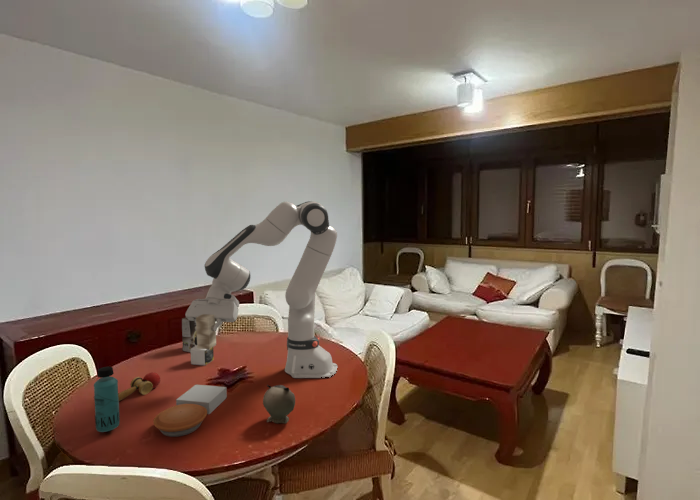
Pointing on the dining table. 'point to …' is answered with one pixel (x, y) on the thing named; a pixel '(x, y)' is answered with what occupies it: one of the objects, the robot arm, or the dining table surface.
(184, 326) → the coffee box
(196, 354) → the medicine bottle
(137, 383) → the kendama
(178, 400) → the grey base block
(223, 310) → the robot arm
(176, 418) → the pie
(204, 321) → the ash block
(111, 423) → the beverage bottle
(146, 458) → the dining table surface
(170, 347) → the dining table surface
